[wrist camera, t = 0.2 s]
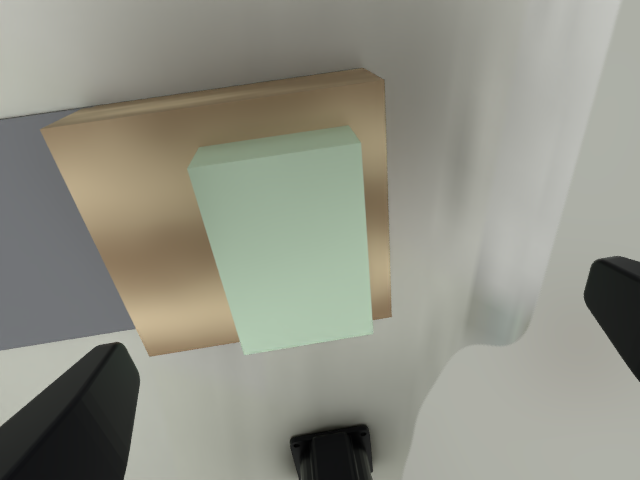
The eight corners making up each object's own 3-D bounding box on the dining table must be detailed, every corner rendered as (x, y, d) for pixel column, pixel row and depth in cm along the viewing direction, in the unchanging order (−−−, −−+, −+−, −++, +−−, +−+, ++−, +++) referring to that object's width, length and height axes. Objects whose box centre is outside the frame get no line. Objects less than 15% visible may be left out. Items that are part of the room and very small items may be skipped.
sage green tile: (362, 299, 20) (373, 333, 18) (247, 318, 20) (244, 355, 18) (348, 125, 16) (361, 142, 13) (198, 147, 15) (186, 168, 13)
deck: (374, 274, 24) (391, 317, 21) (167, 307, 24) (149, 356, 20) (363, 67, 18) (384, 80, 15) (84, 107, 18) (39, 129, 14)
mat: (180, 318, 24) (179, 321, 24) (-14, 349, 24) (-17, 353, 24) (95, 105, 18) (93, 107, 18) (-174, 144, 17) (-180, 145, 17)
